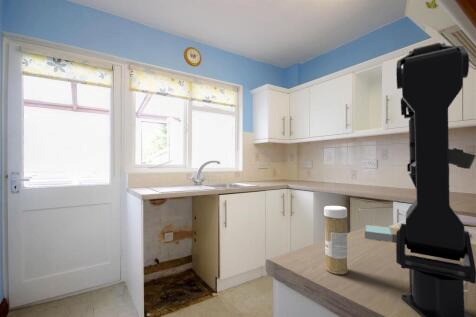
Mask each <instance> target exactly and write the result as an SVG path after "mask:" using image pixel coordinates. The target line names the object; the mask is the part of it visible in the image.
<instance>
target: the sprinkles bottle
mask: <svg viewBox="0 0 476 317" xmlns="http://www.w3.org/2000/svg"><path fill="white" fill-rule="evenodd" d="M323 215H324V221H325V222H324V226H325V229H324V250H325V251H324V252H325V266H324V267H325V270H326V271H328V273H330V274H331V273H332V274H334V275H335V274H336V275H345V274H347V273H348V272H349V269H348V231H347V229H348V228H347V227H348V226H347V220H348V209H347V207H345V206H341V205H326V206H324V207H323Z"/></svg>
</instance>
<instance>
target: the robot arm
mask: <svg viewBox="0 0 476 317" xmlns="http://www.w3.org/2000/svg"><path fill="white" fill-rule="evenodd" d="M469 67H470V58H469V53H468V51H467V50H466V48H465V47H464V46H462V45H461V46H460V45H446V43H445V42H442V43H441V42H436V43H432V44H429V45H424V46H420V47H416V48H415V47H414V48H413V49H412V50H409V52H408V54H406V55H405V56H404V57H402V58H399V60H397V61H396V71H395V72H396V75H395V76H396V90H399V89H401V90H402V91H401V93H402V97H401V98H400V114H401V116H403V118H404V119H409V120H408V135H409V136H408V148H409V150H408V151H409V160H408V163H407V164H406V171H407V172H409V173H408V176H409V177H410V179H411V181H412V185H413V186H414V188H415V190H416V191H415V192H416V199H414V202H413V203H412V204H410V205H409V207H408V209H407V210H406V212H405V223H400V225H401V227H400V229H399V228H398V230H397V231H396V234H395V235H396V238H395V239H396V240H395V242H396V245H395V247H396V248H395V253H396V254H395V258H396V259H395V260H396V261H395V262H396V264H398V265H399V266H400V267H401V269H404V270H405V269H408V270H409V271H408V272H409V273H408V275H409V293H410V294H401V295H400V297H401V300H402V301H404V303H406V304H407V305H408V306H409V307H411V308H412V309H413V310H414V311H415V312H416V313H418V314H419V315H420V316H421V317H472V316H471V315H470V314H468V313H467V312H466V311H465V284H464V282H468V283H471V284H476V263H475V258H474V253H473V247H472V243H471V236H470V233H469V231H466V230H465V225H464V223H463V221H462V220H461V218H460V216H459V215H458V213H456V211H455V209H454V207H452V206H451V205H450V165H453V166H456V167H458V168H461V169H466V170H467V169H468V170H470V169H471V167H472V165H473V163H474V161H475V158H476V154H473V153H470V152H469V153H468V152H464V149H458V148H457V147H454V148H449V145H450V144H449V108H450V106H451V105H452V103H453V102H454V100H456V98H457V96H458V95H459V93H460V91H461V90H462V89H463V87H464V86H463V85H464V82H463V81H464V79H466V78H467V77H468V75H469V71H470V70H469V69H470V68H469ZM407 112H408V113H407ZM406 249H407V250H410V254H407V253H406V251H407V250H406ZM411 254H413V255H411ZM414 254H415V255H414ZM416 255H419V256H416ZM420 255H422V256H423V257H422V256H420ZM424 256H427V257H424ZM428 257H432V258H428ZM433 258H438V259H433ZM439 259H443V260H439ZM461 259H463V261H462V262H463V264H461V263H455V262H460V260H461ZM444 260H449V261H444ZM450 261H455V262H450Z"/></svg>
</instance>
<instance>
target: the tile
mask: <svg viewBox="0 0 476 317" xmlns="http://www.w3.org/2000/svg"><path fill="white" fill-rule="evenodd" d="M364 227H365V228H364V239H367V240H373V239H375V240H374V241H381V240H384V241H383V242H388V241H392V242H391V243H394V242H393V232H392V228H391V227H389V226H380V225H373V224H372V225H369V224H365V226H364Z"/></svg>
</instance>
